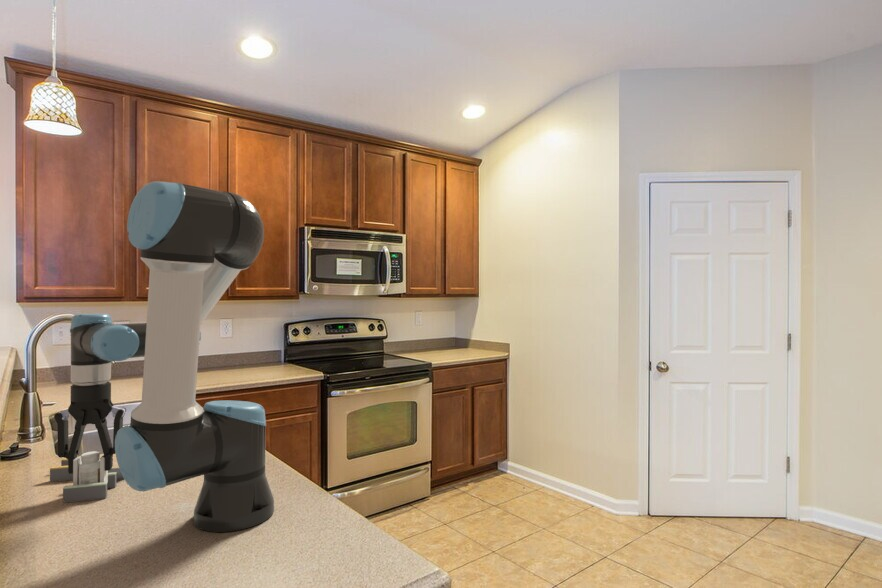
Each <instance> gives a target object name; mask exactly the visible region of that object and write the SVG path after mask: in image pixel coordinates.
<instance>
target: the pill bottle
mask: <svg viewBox="0 0 882 588" xmlns="http://www.w3.org/2000/svg"><path fill="white" fill-rule="evenodd" d="M80 456H81V462H82V464H80V465H79V485H80V484H91V483H100V458H101V457H100V456H101V453H100V451H96V450H93V451H87V452H84V453H82V454H80Z"/></svg>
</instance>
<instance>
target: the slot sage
mask: <svg viewBox="0 0 882 588" xmlns="http://www.w3.org/2000/svg"><path fill="white" fill-rule="evenodd" d="M116 487H117V483H116V472H112V473H108V483H107V482H102V483H91V484H80V485H73V484H71V485H70V484H69V485H65V486H63V487H62V503H75V502H76V503H77V502H83V501H84V502H85V501H95V500H105V499H107V498H108V489H114V488H116Z"/></svg>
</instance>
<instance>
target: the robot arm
mask: <svg viewBox="0 0 882 588" xmlns="http://www.w3.org/2000/svg"><path fill="white" fill-rule="evenodd" d="M127 216H128V217H127V221H126V222H127V223H126V230H127V231H126V232H127V233H128V236H127V238H128V241H129V243H131V245H132V246H133V247H135V248H136V249H138V250H140V260H141V261H142V262H143V263H144V264H145V265H146V266H147V267H148V269H149V275H148V277H149V278H148V279H149V280H148V291H147V294H148V295H147V307H146V308H147V312H146V322H143V323H140V322H139V323H138V322H137V323H135V322H134V323H116V324H115V323H114V324H113V323H112V316H111V315H110V314H109V313H76V314H74V315H73V316H72V317H71V321H70V329H69V333H70V382H71V383H72V384H71V385H70V404H69V406H68V407H67V409H65V410H60V411H58V412H55V414H54V415H53V418H54V420H55V422H56V424H57V425H56V426H57V430H56V431H57V457H58V458H61V459H63V458H67V459H68V472H69V474H72V473H73V480H72V485H79V465H80V464H82V462H81V455H80V453H79V452H80V448H81V444H82V440H83V437H84V433H85V429H86V426H87V425H89V424H90V425H94V426H95V428H96V431H97V433H98V438H99V442H100V446H101V449H102V452H103V455H101V457H100V459H99V461H100V483H102V482H107V483H108V470H110V469H112V468H113V467H114V466H113V465H114V463H113V461H114V458H113V455H115V457H116V458H115V459H116V462H117V465H118V468H119V469H120V471H121V474H122V476H123V478H124V481H125V482H126V484H127V485H128V486H129V487H130V488H131V489H133V490H135V491H137V492H149V491H151V490H156V489H164V488H166V487H167V486H171V485H173V484H178V483H181V482H184V481H187V480H190V479H194V478H197V477H201V476H203V483H202V486H201V489H200V492H199V494H198V498H197V501H196V504H195V507H194V508H193V509H194V510H193V524H194V526H195V527H196V528H198V529H199V530H202V531H205V532H213V533H227V532H234V531H235V532H236V531H240V530H244V529H248V528H251V527H254V526H257V525H259V524H261V523H264V522H266V521H267V520H269V518H271V517H272V516H273V514H274V512H275V499H274V496H273V492H272V490H271V486H270V484H269V481H268V477H267V476H266V427H267V421H266V409H265V407H264V406H262V405H261V404H259V403H256V402H252V401H245V400H232V399H231V400H230V399H229V400H223V399H221V400H211V401H207V402H205V403H204V406H201V404H199V402H197V401H196V395H197V382H198V381H197V380H198V369H199V368H198V365H199V351H200V341H202V340H201V338H202V334H201V333H202V332H201V325H202V324H203V323H204V321H205V320H206V318H207V317H208V316H209V315H210V313H211V312H212V311H213V309H214V308H215V306H216V305H217V303H218V302H219V301H220V299H221V298H222V297H223V296H224V294H225V293H226V291H227V290H228V289H229V287H230V286H231V285H232V283H233V282H234V280H236V278H237V277H238V275H239V274H240V272H241V271H244V270H247V269H249V268H250V267H251V266H252V265H253V264H254V262H255V261H256V259H257V258H258V256H259V255H260V253H261V249H262V247H263V244H264V239H265V228H264V223H263V220H262V218H261V215H260V213H259V211H258V210H257V208H256V207H255V206H254V205H253V204H252V202H250V201H249V200H248V199H247V198H245V197H244V196H241V195H240V194H238V193H235V192H230V191H222V190H221V191H220V190H216V189H211V188H205V187H200V186H197V185H196V186H195V185H190V184H184V183H179V182H171V181H170V182H169V181H160V180H159V181H158V180H157V181H156V180H154V181H151V182H148V183H146V184H145V185H143V186H142V187H141V188H140V189H139V191H138V192H137V193H136V195H135V196H134V199H133V200H132V203H131V205H130V208H129V211H128V215H127ZM143 357H144V358H143ZM133 358H135V359H136V358H143V373H142V374H143V375H142V390H141V403H140V404H138V405H137V406H135V408H134V409H132V410H131V412H130V425H124V416H125V414H126V412H127V408H126V407H117V406H114V404H113V401H112V383H111V382H110V380H111V379H112V362H122V361H125V360H128V359H133ZM110 413H112V417H113V418H114V419H113V433H112V434H113V437H112V440H111V436H110V433H109V428H108V422H107V417H108V415H109V414H110ZM70 416H71V417H72V418H73V419H74V420H75V424H74V431H73V434H72V437H71V438H72V439H71V443H70V442H69V419H70ZM112 442H113V443H112ZM69 443H70V444H69ZM69 446H70V447H69ZM78 455H79V456H78Z"/></svg>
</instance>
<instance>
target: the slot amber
mask: <svg viewBox="0 0 882 588" xmlns="http://www.w3.org/2000/svg"><path fill="white" fill-rule="evenodd" d="M60 463H61V464H60V466H57V465H56V466H51V467H50V468H49V482H50V483H53V482H64V481H73V473H72V474H69V472H68V459H67V458H64V457H62V458H61V460H60Z"/></svg>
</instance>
